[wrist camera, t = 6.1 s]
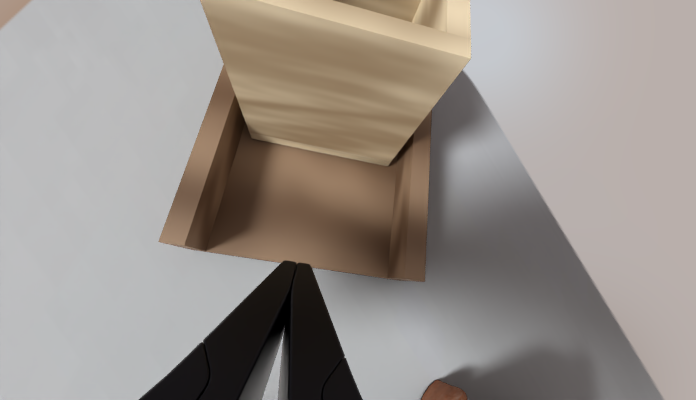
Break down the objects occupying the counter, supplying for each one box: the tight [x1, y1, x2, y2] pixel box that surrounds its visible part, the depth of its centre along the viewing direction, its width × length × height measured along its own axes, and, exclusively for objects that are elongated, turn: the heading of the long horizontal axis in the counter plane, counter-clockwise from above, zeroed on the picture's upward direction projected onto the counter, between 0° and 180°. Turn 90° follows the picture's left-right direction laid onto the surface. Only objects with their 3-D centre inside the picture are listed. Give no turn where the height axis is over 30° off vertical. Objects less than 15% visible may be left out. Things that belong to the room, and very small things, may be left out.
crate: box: [200, 0, 471, 166], centre depth 15 cm, size 8×10×10 cm
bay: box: [159, 65, 432, 282], centre depth 17 cm, size 18×14×6 cm
